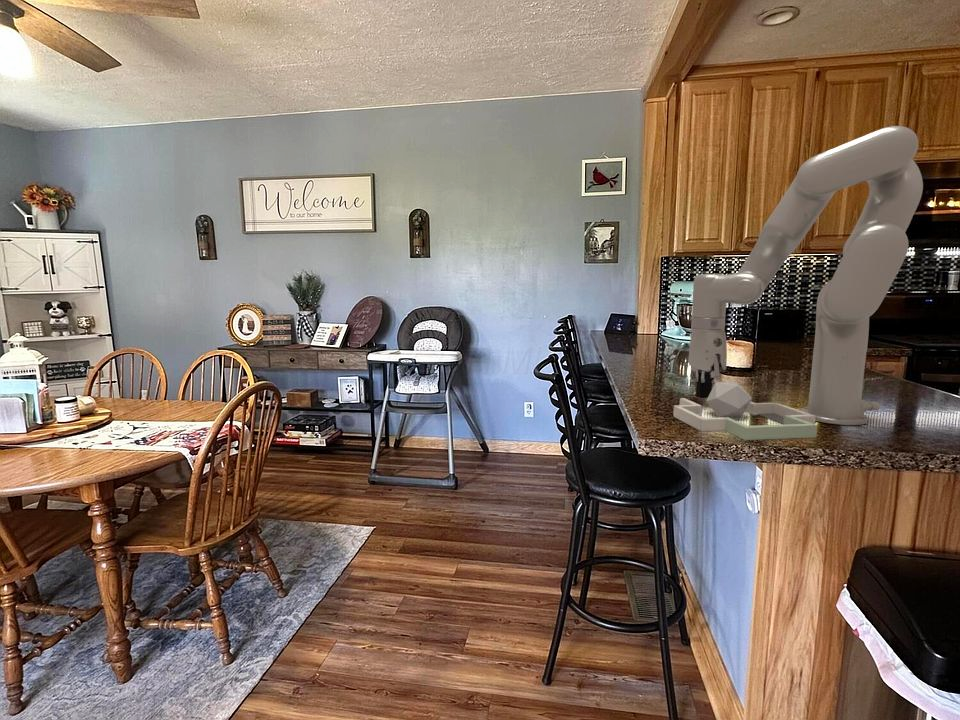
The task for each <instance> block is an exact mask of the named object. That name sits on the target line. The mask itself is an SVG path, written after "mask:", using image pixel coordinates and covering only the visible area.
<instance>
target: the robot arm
mask: <svg viewBox="0 0 960 720" xmlns="http://www.w3.org/2000/svg"><path fill="white" fill-rule="evenodd" d="M918 150H919V139H918V136H917V133H915V132H914V130H912V129H910V128H908V127H906V126H901V125H892V126H886V127H883V128H879V129H877V130H875V131H872V132H869V133H867V134H864V135H862V136H859V137H857V138H855V139H852V140H851V141H848V142H845V143H843V144H840V145H838V146H836V147H833V148H830V149H828V150H825V151H823V152H821V153H819V154H816V155H814V156H812V157H809V158H808V159H807V160H806V161H804V162H803V163H802V164H801V166H800V167H799V169H798V170H797V173H796V176H795V177H794V179H793V180H792V183H790V186H789V187H788V188H787V190H786V192H785V193H784V195H783V196H782V198H781V199H780V201H779V203H778V204H777V205H776V207H775V208H774V210H773V211H772V213H771V214H770V215H769V217H768V219H767V220H766V222H764V225H763V227H762V228H761V231H760V233H759V235H758V238H757V240H756V243H755V244H754V247H753V248H752V250H751V252H750V254H749V255H748V256H747V258H746V260H745V261H744V262H743V264H742V266H741V267H740V269H739V270H738V271H737V273H730V274H722V273H702V274H698V275H696V276H695V277H694V279H693V288H692V309H691V324H690V325H691V329H690V330H691V335H690V339H689V341H690V342H689V348H688V365H689V366H690V367H691V370H692V371H693V372H694V374H695V381H696V390H695V396H696V398H699V399H707V398H708V396H709V394H710V392H711V390H712V388H713V383H714V382H715V379H716V378H720V372H725V371H726V370H727V358H728V356H727V355H728V354H727V351H728V350H727V349H728V348H727V347H728V346H727V336H726V331H725V327H726V311H727V304H733V305H734V304H735V305H742V306H744V305H746V306H747V305H751V304H753V303H755V302H756V301H758V300H759V299H760V298H761V296H762V295H763V293H764V291H765V290H766V289H767V287H769V286H768V285H769V284H770V283H771V281H772V280H773V278H774V277H775V275H776V274H777V272H779V270H780V269H781V267H782V265H784V263H785V261H786V260H787V259H788V257H790V255H791V254H792V253H794V251H796V249H797V248H798V247H799V245H800V244H801V242H802V241H803V240H804V239H805V237H806V235H807V234H808V232H809V231H810V230H811V228H812V226H813V225H814V223H815V222H816V221H817V219H818V218H819V216H820V215H821V214H822V212H823V211H824V210H825V208H826V207H827V205H828V204H829V202H830V201H831V200H832V198H833V197H834V195H835V194H836V192H837V191H840V190H843V189H847V188H849V187H853V186H856V185H858V184H861V183H864V182H866V183H867V185H868V187H869V189H868V190H869V193H868V197H867V201H866V202H865V204H864V206H863V208H862V211H861V213H860V216H859V218H858V219H857V222H856V224H855V225H854V228H853V230H852V232H851V234H850V236H849V237H848V238H847V239H846V241H845V243H844V245H843V247H842V248H843V249H842V257H841V259H840V261H839V263H838V266H837V268H836V269H835V272H834V274H833V275H832V278H831V280H830V281H828V282H827V283H825V284H824V285H823V287H822V288H821V289H820V291H819V293H818V296H817V300H816V313H815V316H816V317H815V334H814V342H813V351H812V364H811V373H810V384H809V394H808V395H809V396H808V403H807V405H808V406H806V407H801V408H799V410H800V411H803V412H806V413H809V414H812V415H814V416H816V417H815V422H819V423H826V424H831V425H832V424H833V425H842V426H843V425H844V426H859V425H860V426H862V425H865V424H867V423H868V422H869V421H868V420H869V417H868V416H867V415H866V414H865V412H868V411H878V410H880V409H881V408H880V407H881V405H880V403H879V402H878V401H866V400H865V399H862V394H863V387H864V386H863V385H864V377H865V368H866V367H865V366H866V358H867V352H868V343H869V331H870V317H871V316H873V314H875V312H876V311H878V309H879V307H880V306H881V304H882V302H883V301H884V299H885V297H886V296H887V294H888V291H889V290H890V288H891V285H892V284H893V282H894V280H895V278H896V276H897V275H898V273H899V271H900V269H901V267H902V265H903V263H904V261H905V259H906V257H907V254H908V250H909V239H908V236H907V234H906V233H907V229H908V228H909V226H910V224H911V221H912V220H913V216H914V215H915V213H916V211H917V208H918V206H919V204H920V203H921V202H920V201H921V199H922V195H923V190H924V181H923V176H922V173H921V170H920V168H919V166H918V164H917V163H916V162H915V161H914V157H915V155H916V154H917V153H918Z"/></svg>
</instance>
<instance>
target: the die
mask: <svg viewBox="0 0 960 720" xmlns="http://www.w3.org/2000/svg"><path fill="white" fill-rule="evenodd" d="M752 399H753V397H752V396H751V395H750V394H749V392H748V391H746V390H745V388H744V387H742V385H741V384H740V383H739V382H738V381H722V382H721V381H719V382H717V381H716V382H715V383H714V384H713V386H712V390H711V392H710V394H709V396H708V398H706V400H705V402H706V403H707V404H708V406H709V407H710V408H711V409H712V410H713V412H714V413H715V414H716V415H717V417H718V418H721V417H731V418H742V417H743V416H744V414H745V413H746V412H745V410H746V409H747V407H748V405H749V403H750V401H751V402H752Z"/></svg>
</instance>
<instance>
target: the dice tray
mask: <svg viewBox="0 0 960 720" xmlns="http://www.w3.org/2000/svg"><path fill="white" fill-rule="evenodd" d="M702 413H703V405H701V404H699V403H696V402H695V401H692V400H690V399H687V398H684V397H681V398H679V404H678V405H675V404H674V405H673V418H675V419H678V420H679V421H681V422H683V423H685V424H687V425H689V426H690V427H692V428H694V429H696V430H698V431H700V432H720V431H723V432H725V431H726V432H727V433H730V434H732V435H733V436H736V437H737V438H739V439H742V440H744V441H755V440H756V441H759V440H761V441H762V440H783V439H809V438H810V439H811V438H812V439H813V438H814V439H815V438H817V434H818V424H816V421H815V417H816V416H814V415H812V414H809V413H806V412H803V411H800V409H797V408H793V407H790V406H788V405H784V404H782V403H779V402H775V401H774V402H753V401H752V400H751V401H750V403H749V405H748V407H747V409H746V410H745V412H744V413H747V414H750V415H753V416H755V415H757V416H761V417H763V418H766V419H768V420H771V421H773V422H776V423H778V424H762V425H758V424H757V425H746V424H744V423H742V422H740V421H738V420H736V419H734V418H732V417H731V418H729V417H721V418H720V417H704V416H702V415H703V414H702Z"/></svg>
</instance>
